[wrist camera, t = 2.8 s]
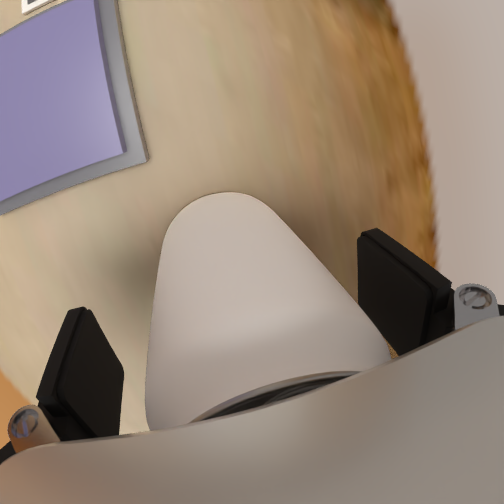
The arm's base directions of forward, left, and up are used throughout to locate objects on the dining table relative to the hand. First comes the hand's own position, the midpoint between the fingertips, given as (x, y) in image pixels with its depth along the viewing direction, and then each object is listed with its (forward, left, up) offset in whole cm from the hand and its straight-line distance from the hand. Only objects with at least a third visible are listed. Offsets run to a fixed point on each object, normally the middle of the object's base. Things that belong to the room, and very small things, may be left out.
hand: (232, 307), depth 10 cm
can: (-1, 0, -7) cm, 7 cm away
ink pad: (+11, -2, -7) cm, 13 cm away
